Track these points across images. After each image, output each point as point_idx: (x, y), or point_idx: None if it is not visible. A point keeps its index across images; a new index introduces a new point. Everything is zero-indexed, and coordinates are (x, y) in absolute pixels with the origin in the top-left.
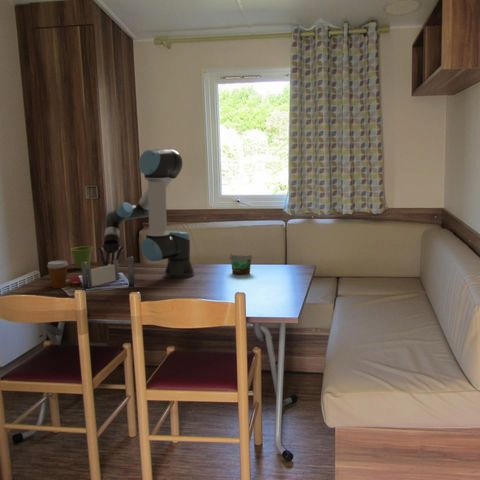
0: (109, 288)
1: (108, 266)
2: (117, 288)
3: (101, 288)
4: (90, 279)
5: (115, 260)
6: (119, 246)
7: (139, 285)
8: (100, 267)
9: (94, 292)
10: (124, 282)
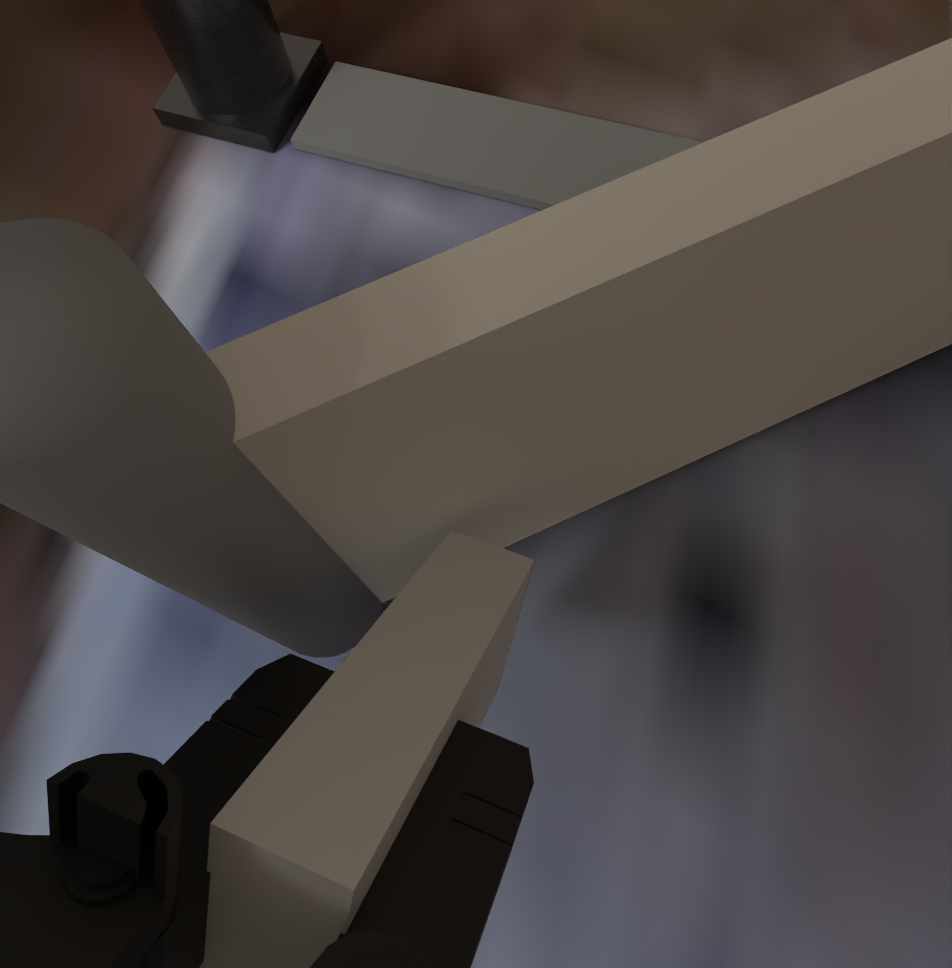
0: (607, 124)
1: (505, 236)
2: (477, 100)
3: None
4: None
5: (29, 263)
6: None
7: (103, 134)
8: (858, 123)
9: (881, 36)
10: None
